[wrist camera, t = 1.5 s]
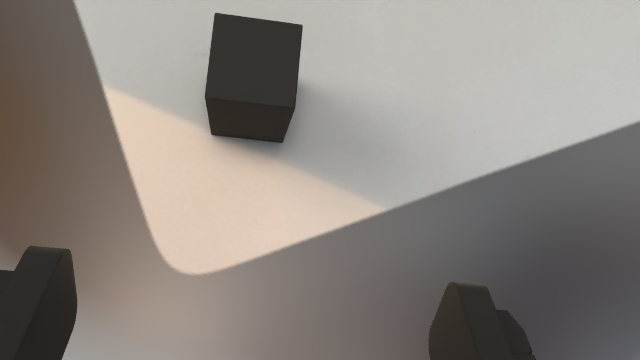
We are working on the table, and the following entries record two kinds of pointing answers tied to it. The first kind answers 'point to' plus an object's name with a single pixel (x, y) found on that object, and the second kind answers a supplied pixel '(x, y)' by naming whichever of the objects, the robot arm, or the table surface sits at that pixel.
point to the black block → (252, 77)
